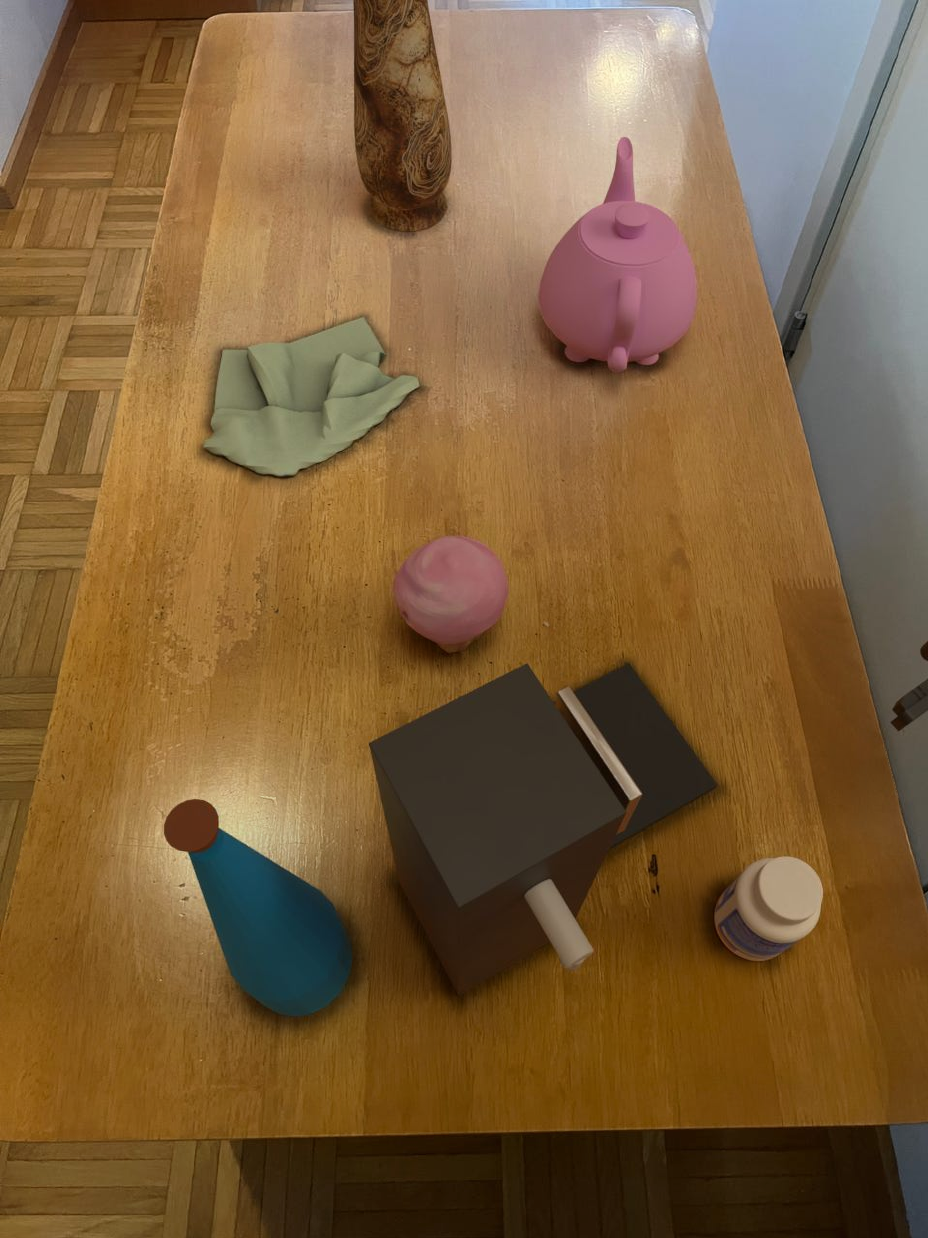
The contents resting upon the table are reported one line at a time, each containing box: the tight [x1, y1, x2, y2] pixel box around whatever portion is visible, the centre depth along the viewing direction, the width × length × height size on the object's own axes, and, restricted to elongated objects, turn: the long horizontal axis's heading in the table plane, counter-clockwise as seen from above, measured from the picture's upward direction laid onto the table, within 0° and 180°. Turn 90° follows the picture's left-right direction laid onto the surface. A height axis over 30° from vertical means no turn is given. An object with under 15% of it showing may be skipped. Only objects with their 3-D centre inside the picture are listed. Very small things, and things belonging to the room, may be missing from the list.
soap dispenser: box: [368, 663, 627, 997], centre depth 54 cm, size 13×9×26 cm
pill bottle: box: [713, 855, 824, 962], centre depth 62 cm, size 5×5×10 cm
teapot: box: [537, 136, 698, 373], centre depth 90 cm, size 22×16×14 cm
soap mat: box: [553, 662, 718, 850], centre depth 72 cm, size 12×12×1 cm
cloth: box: [203, 316, 420, 478], centre depth 90 cm, size 20×22×2 cm
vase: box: [352, 0, 453, 232], centre depth 93 cm, size 10×11×30 cm
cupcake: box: [392, 535, 509, 654], centre depth 74 cm, size 9×9×10 cm
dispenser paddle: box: [554, 685, 642, 835], centre depth 51 cm, size 7×1×6 cm, turn 29°
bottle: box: [163, 798, 354, 1018], centre depth 52 cm, size 7×7×30 cm
